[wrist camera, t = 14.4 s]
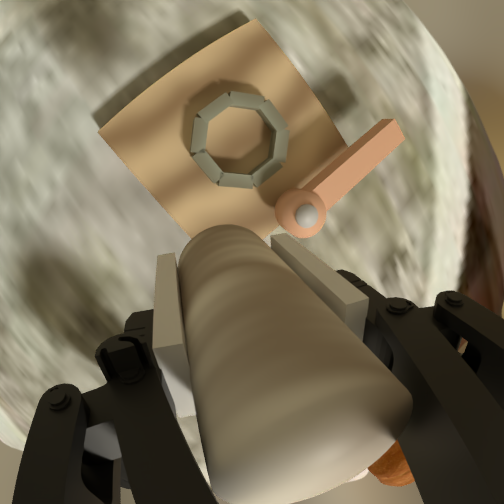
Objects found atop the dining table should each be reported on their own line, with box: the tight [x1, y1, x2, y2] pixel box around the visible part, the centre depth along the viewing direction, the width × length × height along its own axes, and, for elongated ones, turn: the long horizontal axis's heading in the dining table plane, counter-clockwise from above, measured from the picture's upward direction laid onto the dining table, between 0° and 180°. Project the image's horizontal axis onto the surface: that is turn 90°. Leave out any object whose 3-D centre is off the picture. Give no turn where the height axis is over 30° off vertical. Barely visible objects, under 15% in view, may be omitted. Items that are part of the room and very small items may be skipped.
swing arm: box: [275, 119, 405, 238], centre depth 26 cm, size 16×4×3 cm, turn 129°
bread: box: [368, 440, 415, 486], centre depth 44 cm, size 16×26×17 cm, turn 33°
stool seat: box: [98, 19, 348, 239], centre depth 26 cm, size 18×18×4 cm
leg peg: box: [178, 224, 413, 504], centre depth 9 cm, size 4×4×10 cm
